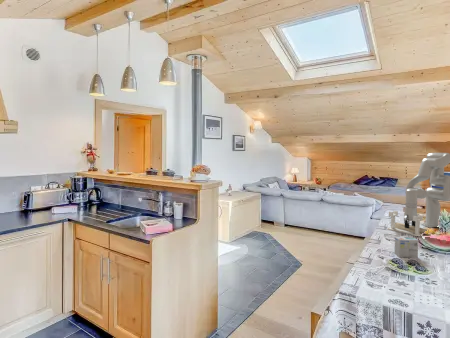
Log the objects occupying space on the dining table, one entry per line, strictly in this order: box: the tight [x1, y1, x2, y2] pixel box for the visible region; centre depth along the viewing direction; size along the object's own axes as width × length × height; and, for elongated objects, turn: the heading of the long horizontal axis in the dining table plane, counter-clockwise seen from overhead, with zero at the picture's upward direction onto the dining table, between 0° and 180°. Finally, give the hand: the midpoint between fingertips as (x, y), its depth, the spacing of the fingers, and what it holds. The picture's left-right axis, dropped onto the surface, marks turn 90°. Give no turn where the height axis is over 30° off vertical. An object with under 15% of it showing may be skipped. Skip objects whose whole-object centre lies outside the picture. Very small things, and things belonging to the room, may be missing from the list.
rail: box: [395, 222, 428, 234], centre depth 226 cm, size 4×24×4 cm, turn 25°
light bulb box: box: [394, 236, 419, 259], centre depth 175 cm, size 11×7×11 cm, turn 84°
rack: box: [387, 210, 424, 237], centre depth 222 cm, size 7×23×14 cm, turn 30°
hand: (410, 227), depth 226 cm, fingers open, 9 cm apart
